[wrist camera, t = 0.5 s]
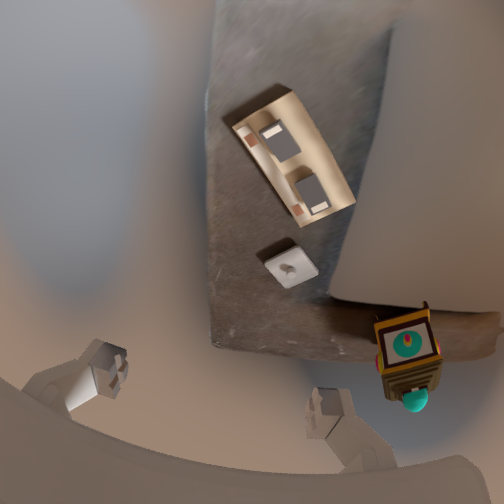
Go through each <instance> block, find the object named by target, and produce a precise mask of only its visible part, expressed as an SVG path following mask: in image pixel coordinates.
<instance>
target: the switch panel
mask: <svg viewBox="0 0 504 504" xmlns="http://www.w3.org/2000/svg"><path fill="white" fill-rule="evenodd" d="M278 119H281V120H282V122H283V123H284V125H285V126H286V127H287V129H288V130H289V132H290V133H291V135H292V136H293V138H294V139H295V141H296V142H297V143H298V145H299V146H300V148H301V153H299V154H297V155H295V156H293V157H291V158H289V159H287V160H285V161H284V162H282V163H280V162H279V160H278V159H277V158H276V156H275V155H274V154H273V152H272V151H271V150H270V148H269V147H268V146H267V144H266V143H265V142H264V140H263V139H262V138H261V137H260V135H259V130H260V129H262V128H264V127H266V126H267V125H269V124H271V123H273V122H274V121H276V120H278ZM232 128H233V129H234V131H235V132H236V133H237V135H238V136H239V137H240V139H241V140H242V142H243V143H244V144H245V146H246V147H247V149H248V150H249V152H250V153H251V154H252V156H253V157H254V159H255V160H256V162H257V163H258V164H259V166H260V167H261V169H262V170H263V172H264V173H265V175H266V176H267V178H268V179H269V181H270V182H271V183H272V185H273V186H274V188H275V189H276V191H277V192H278V194H279V195H280V197H281V198H282V200H283V201H284V203H285V204H286V206H287V208H288V209H289V211H290V212H291V214H292V215H293V217H294V218H295V220H296V221H297V223H298V225H299V226H300V227H302V226H305V225H307V224H309V223H311V222H313V221H316V220H318V219H320V218H322V217H324V216H327V215H329V214H331V213H333V212H336V211H338V210H340V209H342V208H344V207H347V206H349V205H351V204H353V203H355V202H356V201H355V198H354V195H353V193H352V191H351V189H350V187H349V185H348V183H347V181H346V179H345V178H344V176H343V174H342V172H341V170H340V168H339V166H338V164H337V162H336V161H335V159H334V157H333V155H332V153H331V152H330V150H329V148H328V146H327V145H326V143H325V141H324V139H323V138H322V136H321V134H320V133H319V131H318V129H317V127H316V126H315V124H314V122H313V121H312V119H311V118H310V116H309V114H308V113H307V111H306V110H305V108H304V106H303V105H302V103H301V102H300V100H299V99H298V97H297V96H296V94H295V93H294V91H293V90H292V91H290V92H289V93H287V94H285V95H283V96H281V97H280V98H278V99H276V100H274V101H273V102H271V103H269V104H267V105H266V106H264V107H262V108H261V109H259V110H257V111H256V112H254V113H252V114H251V115H249V116H247V117H246V118H244V119H243V120H241V121H239V122H238V123H236V124H235V125H234V126H233V127H232ZM313 173H316V175H317V177H318V178H319V180H320V182H321V184H322V186H323V188H324V190H325V192H326V193H327V195H328V197H329V199H330V201H331V203H332V207H330V208H328V209H326V210H324V211H322V212H320V213H317V214H315V215H313V216H311V214H310V212H309V210H308V209H307V207H306V205H305V203H304V201H303V199H302V198H301V196H300V194H299V192H298V190H297V189H296V187H295V185H294V183H295V182H297V181H299V180H301V179H303V178H305V177H307V176H309V175H311V174H313Z"/></svg>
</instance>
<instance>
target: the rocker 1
mask: <svg viewBox="0 0 504 504" xmlns="http://www.w3.org/2000/svg"><path fill="white" fill-rule="evenodd" d="M259 135H260V137H261V138H262V139H263V140H264V142H265V143H266V144H267V146H268V147H269V148H270V150H271V151H272V152H273V154H274V155H275V156H276V158H277V159H278V160H279V162H280V163H282V162H284V161H285V160H287V159H289V158H291V157H293V156H295V155H297V154H299V153H301V148H300V146H299V145H298V143H297V142H296V141H295V139H294V138H293V136H292V135H291V133H290V132H289V130H288V129H287V127H286V126H285V125H284V123H283V122H282V120H281V119H278V120H276V121H274V122H273V123H271V124H269V125H267V126H266V127H264V128H262V129H260V130H259Z"/></svg>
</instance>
